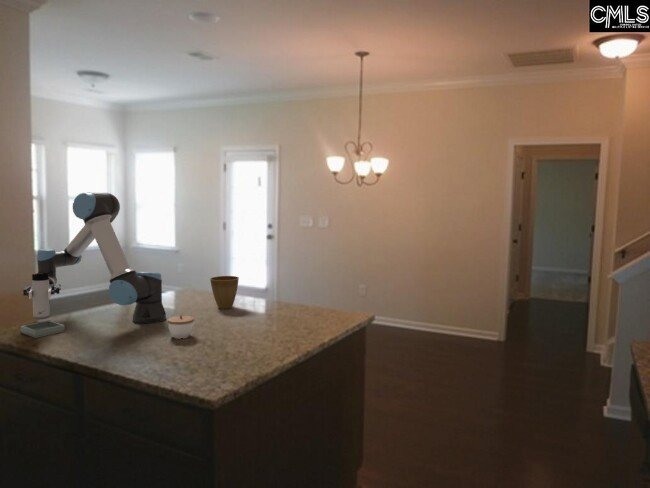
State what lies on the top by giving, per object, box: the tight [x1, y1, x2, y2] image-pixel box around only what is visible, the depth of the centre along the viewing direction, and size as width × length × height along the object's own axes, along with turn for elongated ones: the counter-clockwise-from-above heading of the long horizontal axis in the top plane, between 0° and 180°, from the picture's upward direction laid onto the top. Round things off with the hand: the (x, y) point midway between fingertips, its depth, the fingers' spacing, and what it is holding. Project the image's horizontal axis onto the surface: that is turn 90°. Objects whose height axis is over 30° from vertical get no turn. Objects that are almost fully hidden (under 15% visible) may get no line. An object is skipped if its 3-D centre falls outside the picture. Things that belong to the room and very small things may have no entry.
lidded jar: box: [167, 314, 195, 340], centre depth 206 cm, size 11×11×9 cm
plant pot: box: [209, 275, 239, 310], centre depth 260 cm, size 15×15×16 cm
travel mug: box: [31, 272, 51, 320], centre depth 209 cm, size 6×7×20 cm
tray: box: [20, 319, 66, 339], centre depth 210 cm, size 13×12×3 cm
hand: (39, 295), depth 204 cm, fingers closed on travel mug, 6 cm apart
